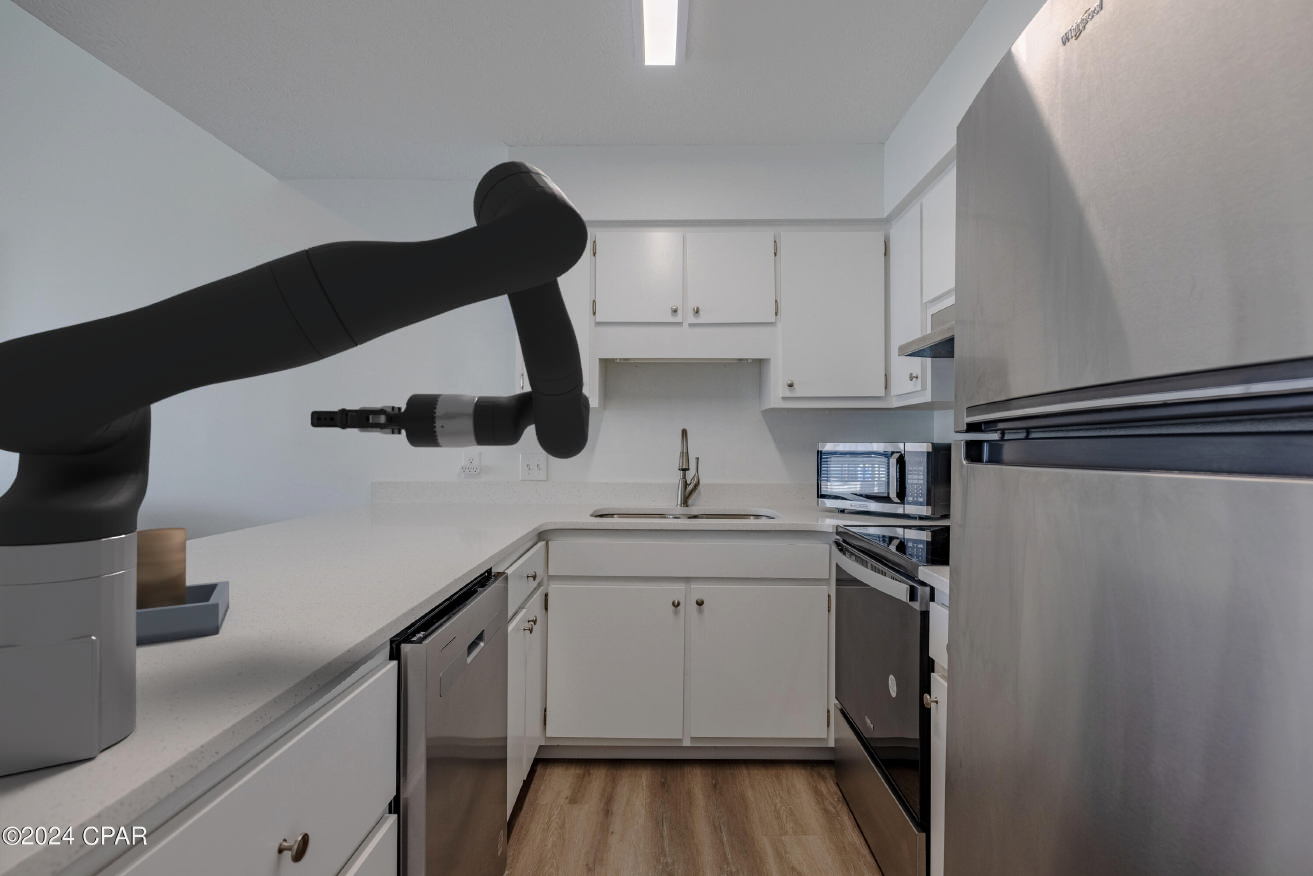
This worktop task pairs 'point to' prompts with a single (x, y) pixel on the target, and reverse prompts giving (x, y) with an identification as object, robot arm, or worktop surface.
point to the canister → (161, 568)
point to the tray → (186, 615)
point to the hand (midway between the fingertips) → (327, 420)
